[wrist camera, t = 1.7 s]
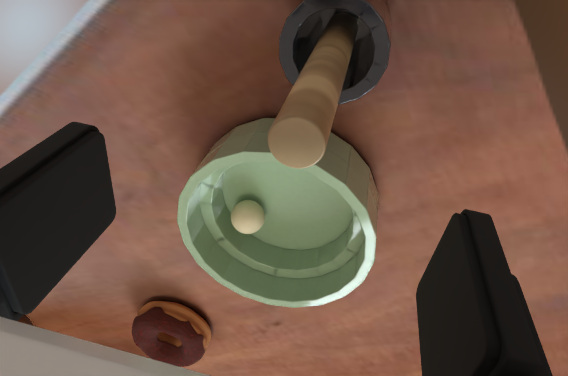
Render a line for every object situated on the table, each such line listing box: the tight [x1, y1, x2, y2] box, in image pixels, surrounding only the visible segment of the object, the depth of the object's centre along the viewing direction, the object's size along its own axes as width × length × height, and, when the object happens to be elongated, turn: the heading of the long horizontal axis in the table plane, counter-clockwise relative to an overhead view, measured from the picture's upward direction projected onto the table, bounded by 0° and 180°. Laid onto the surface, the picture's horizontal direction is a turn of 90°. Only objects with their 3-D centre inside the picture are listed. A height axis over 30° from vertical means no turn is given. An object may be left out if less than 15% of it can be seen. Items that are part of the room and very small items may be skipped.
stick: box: [267, 12, 358, 169], centre depth 19 cm, size 2×2×16 cm
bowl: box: [177, 118, 378, 308], centre depth 33 cm, size 16×16×6 cm
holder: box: [279, 0, 391, 104], centre depth 24 cm, size 6×6×6 cm
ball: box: [231, 200, 265, 234], centre depth 35 cm, size 3×3×3 cm
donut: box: [132, 301, 211, 367], centre depth 49 cm, size 10×10×4 cm
